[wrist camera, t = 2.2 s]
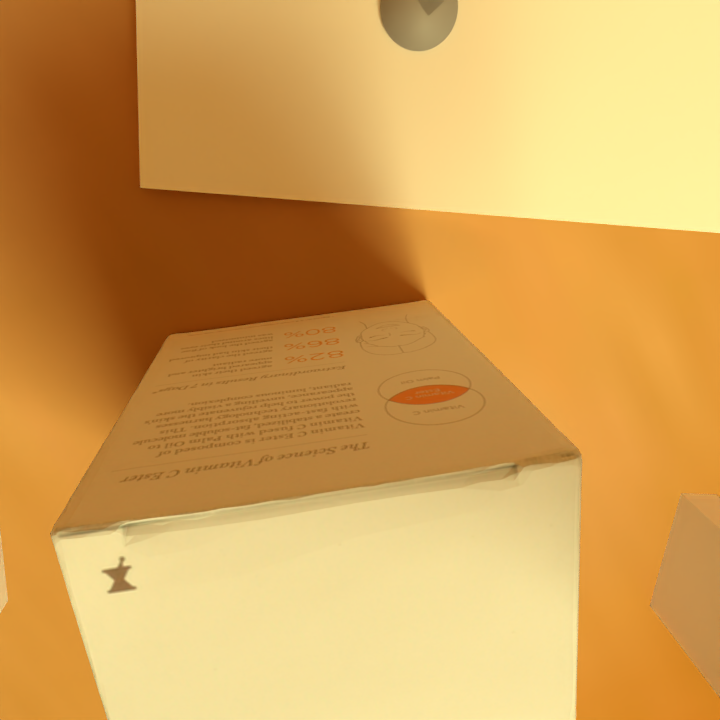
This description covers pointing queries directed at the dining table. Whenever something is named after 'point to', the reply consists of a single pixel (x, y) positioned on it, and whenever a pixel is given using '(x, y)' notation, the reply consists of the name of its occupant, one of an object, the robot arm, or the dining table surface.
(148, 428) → the small box
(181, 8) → the paper sheet
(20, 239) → the dining table surface
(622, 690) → the dining table surface
